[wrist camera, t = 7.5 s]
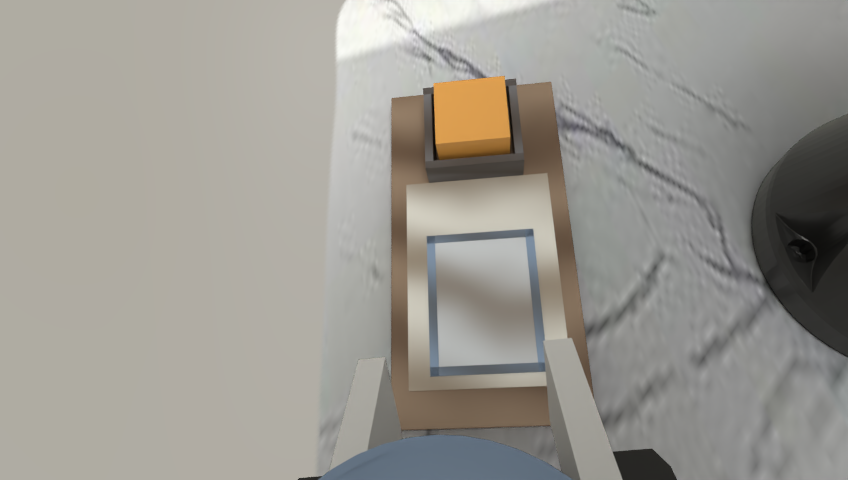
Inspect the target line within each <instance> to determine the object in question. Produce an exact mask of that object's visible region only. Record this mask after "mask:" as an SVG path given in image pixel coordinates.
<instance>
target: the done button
mask: <svg viewBox="0 0 848 480" xmlns="http://www.w3.org/2000/svg"><path fill="white" fill-rule="evenodd" d="M434 111H435V140H436V148H437V153H438V157H439V160H447V159H458V158H469V157H481V156H492V155H503V154H510V128H509V118H508V107H507V97H506V86H505V76H500V77H490V78H481V79H471V80H462V81H452V82H442V83H434Z"/></svg>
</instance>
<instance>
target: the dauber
mask: <svg viewBox="0 0 848 480" xmlns="http://www.w3.org/2000/svg"><path fill="white" fill-rule="evenodd" d="M318 480H573V479H571V478H570V477H568V476H567V475H565V474H563V473H562V472H560V471H559V470H557V469H556V468H554V467H552V466H551V465H549V464H548V463H546V462H544V461H542V460H540V459H538V458H536V457H534V456H531V455H529V454H527V453H525V452H523V451H521V450H519V449H516V448H513V447H509V446H506V445H503V444H500V443H497V442H494V441H490V440H485V439H479V438H473V437H467V436H456V435H429V436H420V437H411V438H405V439H401V440H397V441H394V442H390V443H386V444H382V445H379V446H377V447H374V448H372V449H370V450H367V451H365V452H362V453H360V454H357V455H355V456H354V457H352V458H350V459H348V460H347V461H345V462H343V463H341V464H340V465H338V466H336V467H335V468H333V469H331V470H330V471H329V472H327V473H326V474H325V475H324V476H322V477H321V478H320V479H318Z"/></svg>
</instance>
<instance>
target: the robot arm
mask: <svg viewBox="0 0 848 480" xmlns="http://www.w3.org/2000/svg"><path fill="white" fill-rule="evenodd" d="M752 234H753V242H754V247H755V251H756V255H757V258H758V261H759V264H760V266H761V269H762V271H763V273H764V275H765V277H766V279H767V281H768V283H769V285H770V286H771V288H772V290H773V291H774V293H775V294H776V296H777V297H778V298H779V300H780V301H781V302H782V304H783V305H784V306H785V307H786V309H787V310H788V311H789V312H790V313H791V314H792V315H793V316H794V317H795V318H796V319H797V320H798V321H799V322H800V323H801V324H802V325H803V326H804V327H805V328H806V329H808V330H809V331H810V332H811V333H812V334H814V335H815V336H816V337H818V338H819V339H820V340H822V341H823V342H825V343H826V344H828V345H829V346H831V347H832V348H834V349H836V350H837V351H839V352H841V353H842V354H844V355H846V356H848V114H847V115H844V116H842V117H840V118H838V119H835V120H833V121H830V122H828V123H826V124H824V125H822V126H820V127H818V128H817V129H815V130H814V131H812V132H811V133H809V134H808V135H806V136H805V137H804V138H802V139H801V140H800V141H798V142H797V143H796V144H795V145H794V146H793V147H792V148H791V149H790V150H789V151H788V152H787V153H786V154H785V155H784V156H783V157H782V159H781V160H780V161H779V162H778V163H777V164H776V165H775V166H774V167H773V168H772V170H771V171H770V172H769V173H768V175H767V176H766V178H765V179H764V181H763V183H762V185H761V187H760V189H759V191H758V194H757V197H756V200H755V204H754V209H753V216H752ZM543 346H544V358H545V370H546V382H547V394H548V406H549V418H550V424H551V428H552V432H553V437H554V441H555V445H556V449H557V454H558V458H559V462H560V467H561V471H562V473H563V474H565V475H567V476H568V477H570V478H571V479H573V480H677V479H676V477H675V475H674V473H673V470H672V468H671V466H670V465H668V464H667V463H666V462H665V461H664V460H663V459H662V458H661V457H660V456H659V455H658V454H657V453H656V452H655V451H654V450H653V449H642V450H629V451H617V452H612V449H611V446H610V443H609V440H608V438H607V435H606V432H605V429H604V426H603V424H602V421H601V418H600V415H599V413H598V410H597V407H596V404H595V401H594V399H593V396H592V393H591V390H590V387H589V385H588V382H587V379H586V376H585V373H584V371H583V368H582V365H581V362H580V359H579V357H578V354H577V351H576V348H575V345H574V343H573V340H572V338H565V339H555V340H545V341H543ZM401 437H402V431H401V427H400V422H399V417H398V413H397V408H396V404H395V399H394V395H393V390H392V386H391V381H390V376H389V372H388V367H387V363H386V358H385V357H379V358H369V359H359V360H358V363H357V367H356V371H355V375H354V378H353V382H352V386H351V390H350V393H349V397H348V401H347V405H346V408H345V412H344V416H343V420H342V423H341V427H340V431H339V435H338V438H337V442H336V446H335V450H334V453H333V457H332V461H331V465H330V468H329V471H330V470H331V469H333V468H335V467H336V466H338V465H340V464H341V463H343V462H345V461H347V460H348V459H350V458H352V457H354V456H355V455H357V454H360V453H362V452H365V451H367V450H370V449H372V448H374V447H377V446H379V445H382V444H386V443H390V442H394V441H397V440H401ZM321 477H322V476H320V477H308V478H299V479H298V480H318V479H320V478H321Z"/></svg>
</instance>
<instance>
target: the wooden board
mask: <svg viewBox="0 0 848 480" xmlns="http://www.w3.org/2000/svg"><path fill="white" fill-rule="evenodd" d="M505 86H506V97H507V107H508V118H509V128H510V154H503V155H492V156H481V157H469V158H458V159H447V160H439V157H438V153H437V148H436V140H435V111H434V87H432V88H423V94H424V95H418V96H409V97H399V98H392V311H391V386H392V390H393V395H394V399H395V404H396V408H397V413H398V417H399V422H400V427H401V430H429V429H462V428H494V427H527V426H551V424H550V418H549V406H548V394H547V382H546V370H545V358H544V346H543V341H545V340H555V339H565V338H572V340H573V343H574V345H575V348H576V351H577V354H578V357H579V359H580V362H581V365H582V368H583V371H584V373H585V376H586V379H587V382H588V385H589V387H590V390H591V393H592V396H593V399H594V395H593V388H592V380H591V373H590V366H589V358H588V351H587V343H586V336H585V329H584V321H583V314H582V307H581V299H580V292H579V284H578V277H577V270H576V262H575V255H574V247H573V240H572V233H571V225H570V218H569V211H568V203H567V196H566V188H565V181H564V174H563V166H562V159H561V151H560V144H559V137H558V129H557V122H556V115H555V107H554V100H553V92H552V85H551V82H545V83H535V84H525V85H516V79H508V80H505Z"/></svg>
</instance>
